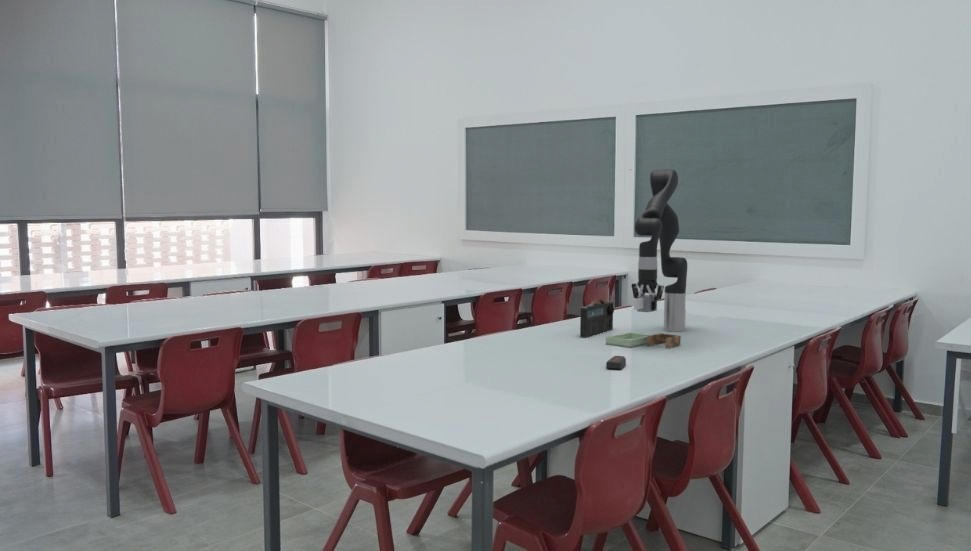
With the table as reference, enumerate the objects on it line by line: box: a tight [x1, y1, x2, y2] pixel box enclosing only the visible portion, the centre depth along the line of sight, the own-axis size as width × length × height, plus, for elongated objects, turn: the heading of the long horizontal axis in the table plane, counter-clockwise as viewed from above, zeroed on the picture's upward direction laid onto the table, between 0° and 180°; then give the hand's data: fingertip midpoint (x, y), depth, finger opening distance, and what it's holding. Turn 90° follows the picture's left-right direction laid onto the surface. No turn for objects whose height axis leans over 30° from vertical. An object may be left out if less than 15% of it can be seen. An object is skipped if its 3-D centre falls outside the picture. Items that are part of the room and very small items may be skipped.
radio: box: [579, 286, 615, 339], centre depth 351 cm, size 25×4×20 cm, turn 145°
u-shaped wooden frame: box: [646, 333, 682, 349], centre depth 321 cm, size 10×10×4 cm
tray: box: [605, 331, 651, 349], centre depth 326 cm, size 18×12×3 cm, turn 137°
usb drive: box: [605, 355, 627, 370], centre depth 282 cm, size 5×12×3 cm, turn 159°
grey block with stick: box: [633, 294, 658, 313], centre depth 317 cm, size 12×5×6 cm, turn 138°
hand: (647, 309), depth 319 cm, fingers closed on grey block with stick, 5 cm apart
